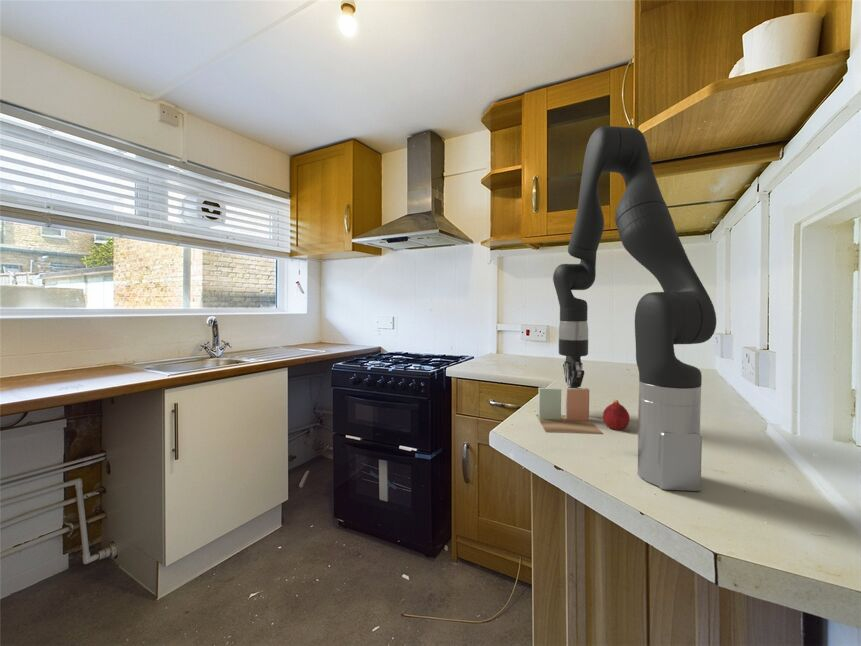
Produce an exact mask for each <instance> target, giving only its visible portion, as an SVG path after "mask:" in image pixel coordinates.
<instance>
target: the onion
mask: <svg viewBox="0 0 861 646" xmlns="http://www.w3.org/2000/svg"><path fill="white" fill-rule="evenodd" d="M602 418H603V422H604V424H605V426H607V428H608V429H611V430H615V431H623V430H624V429H625V428H627V427H628V425H630V421H631V419H630V418H631V417H630V414H629V412H628V410H627V409H626V408H625V407H624V406H623V404H621V403H620V402H619V400H618V399H613V402H612V403H611V404H609V405H607V406H606V408H604V411H603V412H602Z"/></svg>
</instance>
